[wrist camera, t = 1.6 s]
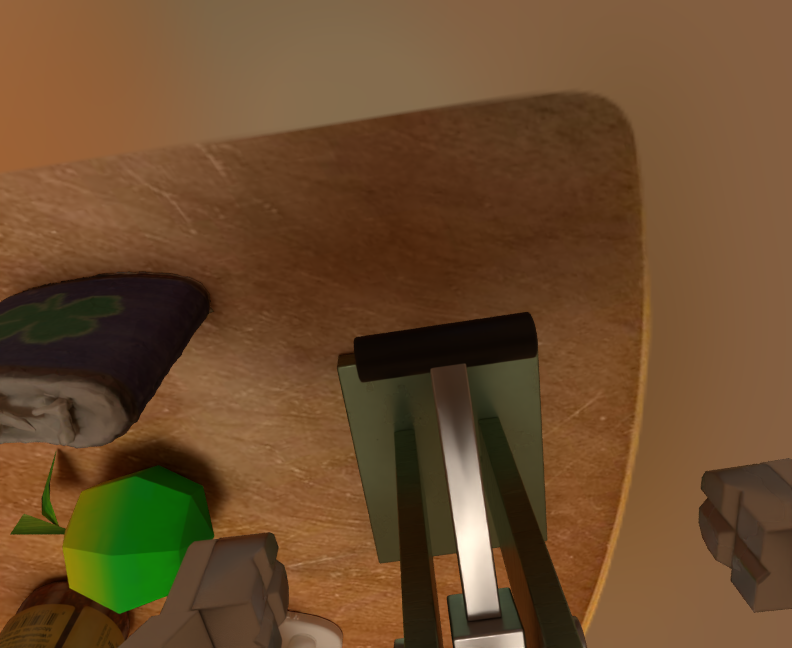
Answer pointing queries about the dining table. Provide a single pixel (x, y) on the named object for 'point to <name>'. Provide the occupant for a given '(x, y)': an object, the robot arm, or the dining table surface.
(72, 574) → the apple
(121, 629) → the sauce bottle
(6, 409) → the eggplant half
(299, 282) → the dining table surface
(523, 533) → the bracket
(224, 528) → the dining table surface
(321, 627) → the figurine
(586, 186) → the dining table surface
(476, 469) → the lever
